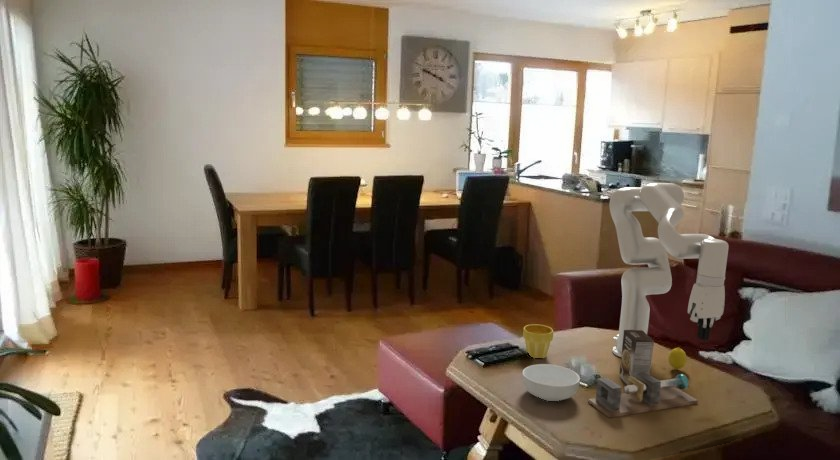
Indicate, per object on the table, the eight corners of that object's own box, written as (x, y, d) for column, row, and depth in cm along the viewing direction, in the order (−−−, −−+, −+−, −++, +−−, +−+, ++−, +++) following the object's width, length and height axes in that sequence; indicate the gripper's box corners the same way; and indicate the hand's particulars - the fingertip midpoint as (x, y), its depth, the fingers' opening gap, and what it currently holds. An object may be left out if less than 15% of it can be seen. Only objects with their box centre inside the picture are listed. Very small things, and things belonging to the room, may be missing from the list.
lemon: (686, 374, 214) (689, 351, 213) (668, 372, 215) (671, 349, 214) (683, 367, 220) (685, 345, 218) (666, 365, 221) (668, 343, 219)
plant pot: (515, 353, 226) (517, 326, 224) (535, 347, 232) (537, 322, 230) (536, 363, 218) (539, 336, 216) (557, 357, 224) (559, 330, 222)
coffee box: (618, 376, 210) (623, 329, 207) (637, 376, 211) (642, 329, 208) (629, 388, 202) (634, 339, 198) (649, 388, 202) (654, 339, 199)
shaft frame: (673, 389, 202) (676, 365, 201) (697, 403, 193) (700, 378, 191) (588, 402, 191) (590, 377, 189) (609, 417, 182) (612, 391, 180)
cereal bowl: (580, 390, 199) (582, 368, 198) (575, 413, 183) (577, 390, 182) (526, 380, 204) (527, 359, 203) (516, 402, 189) (517, 379, 187)
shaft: (677, 385, 199) (678, 371, 198) (687, 391, 195) (689, 377, 194) (621, 393, 191) (622, 379, 190) (631, 400, 187) (632, 386, 186)
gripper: (719, 275, 198) (712, 332, 201) (681, 278, 192) (674, 336, 196) (739, 282, 191) (731, 340, 194) (700, 285, 186) (692, 345, 189)
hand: (702, 338), depth 195 cm, fingers closed
